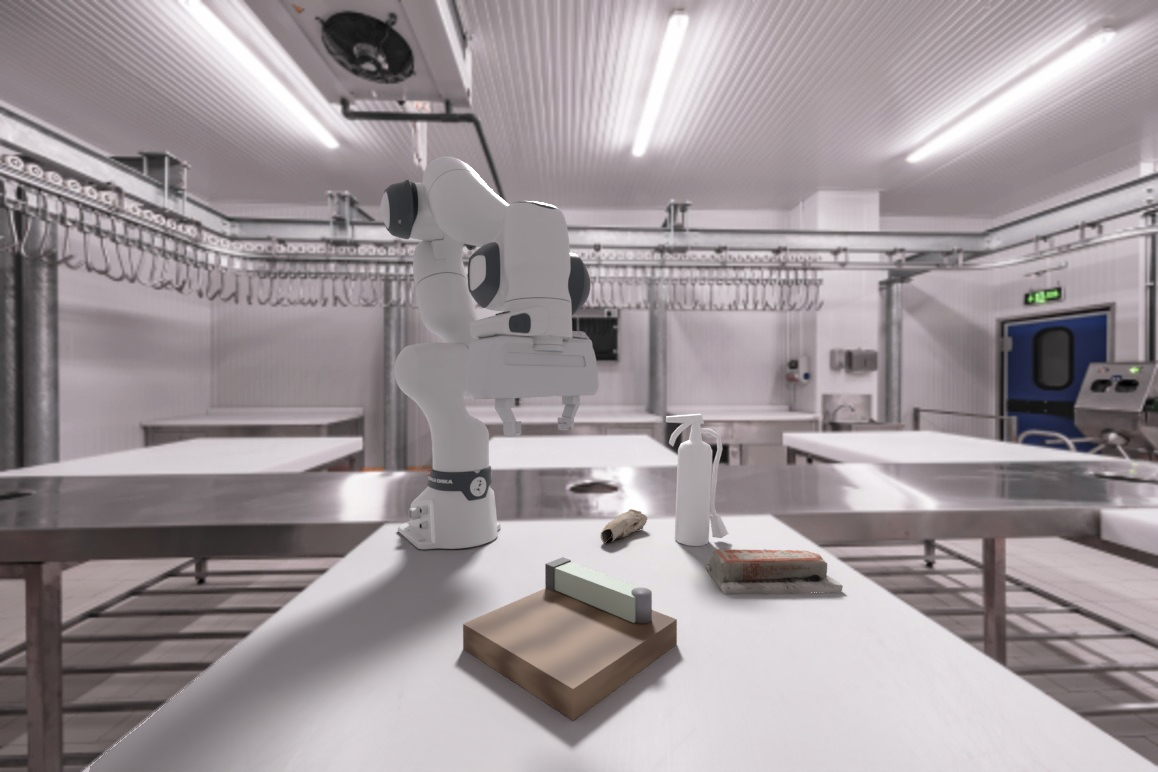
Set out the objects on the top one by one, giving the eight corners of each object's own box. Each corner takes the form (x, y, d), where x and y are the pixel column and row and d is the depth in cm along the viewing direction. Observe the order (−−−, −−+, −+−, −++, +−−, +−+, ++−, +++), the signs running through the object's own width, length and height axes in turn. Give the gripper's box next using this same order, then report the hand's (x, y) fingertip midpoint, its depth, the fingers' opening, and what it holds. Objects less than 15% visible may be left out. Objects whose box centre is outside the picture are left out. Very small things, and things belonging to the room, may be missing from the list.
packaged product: (723, 565, 72) (704, 542, 82) (723, 597, 72) (704, 571, 82) (844, 563, 73) (811, 541, 83) (844, 596, 73) (811, 570, 83)
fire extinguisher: (732, 548, 92) (732, 415, 92) (666, 545, 93) (666, 414, 93) (726, 537, 99) (726, 412, 98) (665, 534, 100) (665, 412, 100)
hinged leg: (658, 618, 59) (658, 590, 59) (641, 628, 57) (641, 599, 57) (562, 580, 70) (562, 557, 70) (545, 588, 68) (545, 563, 68)
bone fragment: (623, 526, 107) (623, 504, 107) (649, 531, 103) (649, 509, 103) (588, 543, 96) (588, 520, 96) (617, 550, 92) (617, 526, 92)
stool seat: (463, 648, 58) (463, 623, 58) (569, 598, 71) (569, 578, 71) (573, 721, 46) (573, 689, 46) (676, 644, 59) (676, 619, 59)
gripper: (575, 334, 74) (577, 426, 74) (458, 322, 59) (460, 438, 58) (607, 330, 69) (610, 427, 69) (490, 316, 54) (493, 441, 54)
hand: (540, 432), depth 64 cm, fingers open, 8 cm apart
